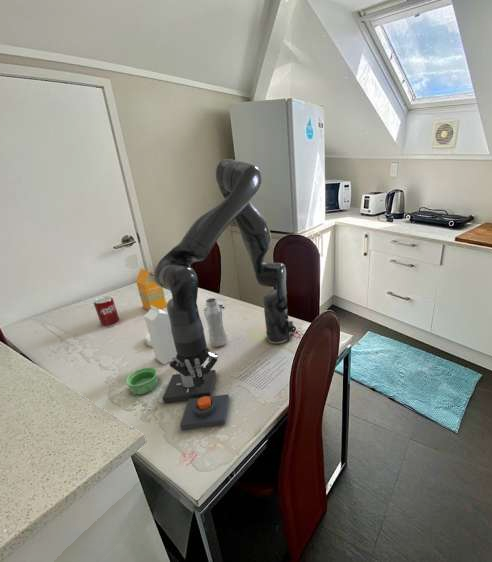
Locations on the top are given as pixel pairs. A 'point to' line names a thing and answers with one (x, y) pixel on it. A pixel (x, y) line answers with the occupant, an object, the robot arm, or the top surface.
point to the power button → (204, 403)
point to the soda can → (106, 311)
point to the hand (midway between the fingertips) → (200, 384)
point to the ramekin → (142, 380)
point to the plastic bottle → (215, 323)
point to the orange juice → (150, 291)
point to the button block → (205, 413)
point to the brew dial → (187, 381)
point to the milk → (160, 334)
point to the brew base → (188, 389)
